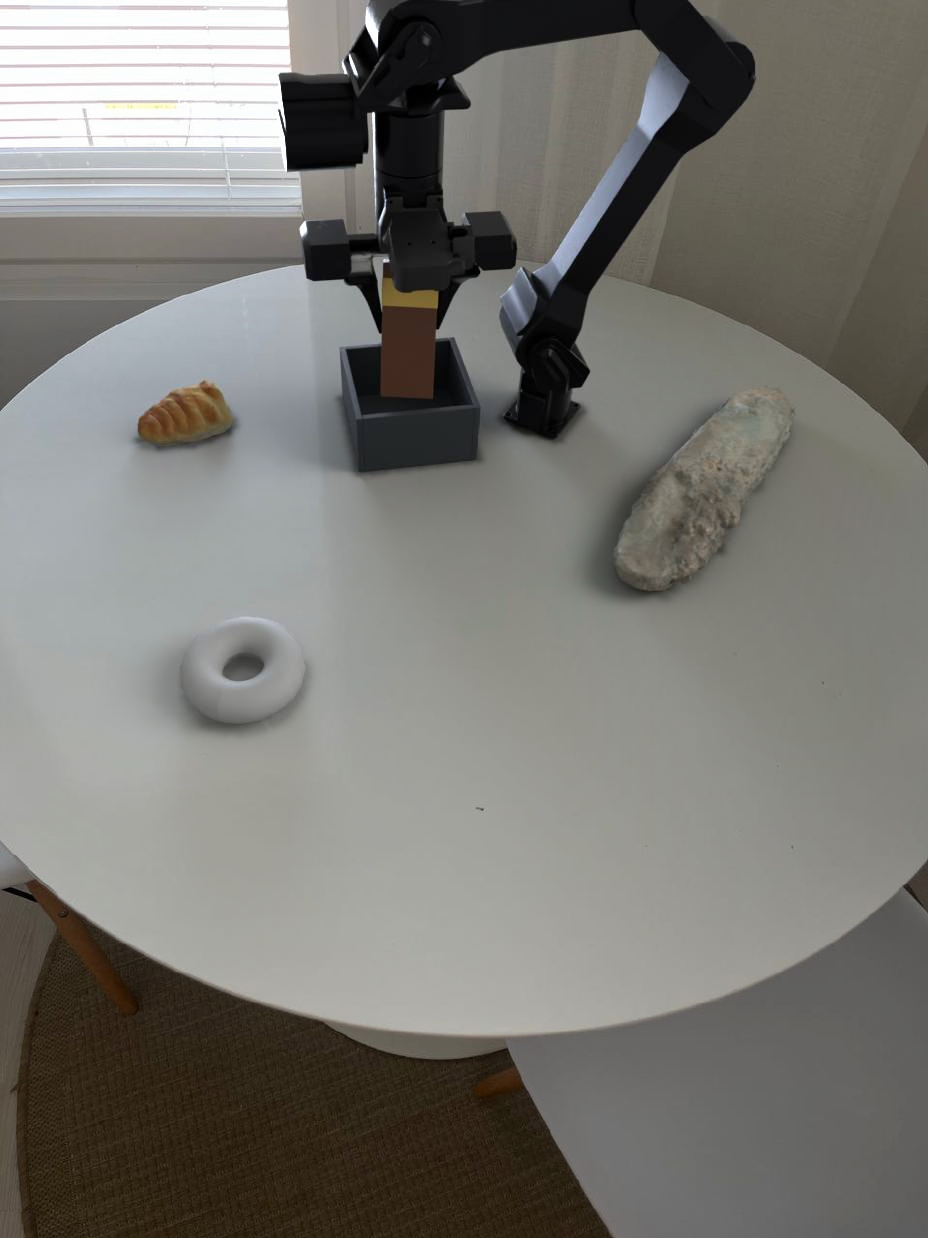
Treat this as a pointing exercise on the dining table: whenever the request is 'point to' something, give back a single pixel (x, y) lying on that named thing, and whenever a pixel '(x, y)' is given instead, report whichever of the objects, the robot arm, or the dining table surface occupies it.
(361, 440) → the waste bin
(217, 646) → the donut
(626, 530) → the long grey stone
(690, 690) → the dining table surface
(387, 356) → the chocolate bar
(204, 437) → the pastry
